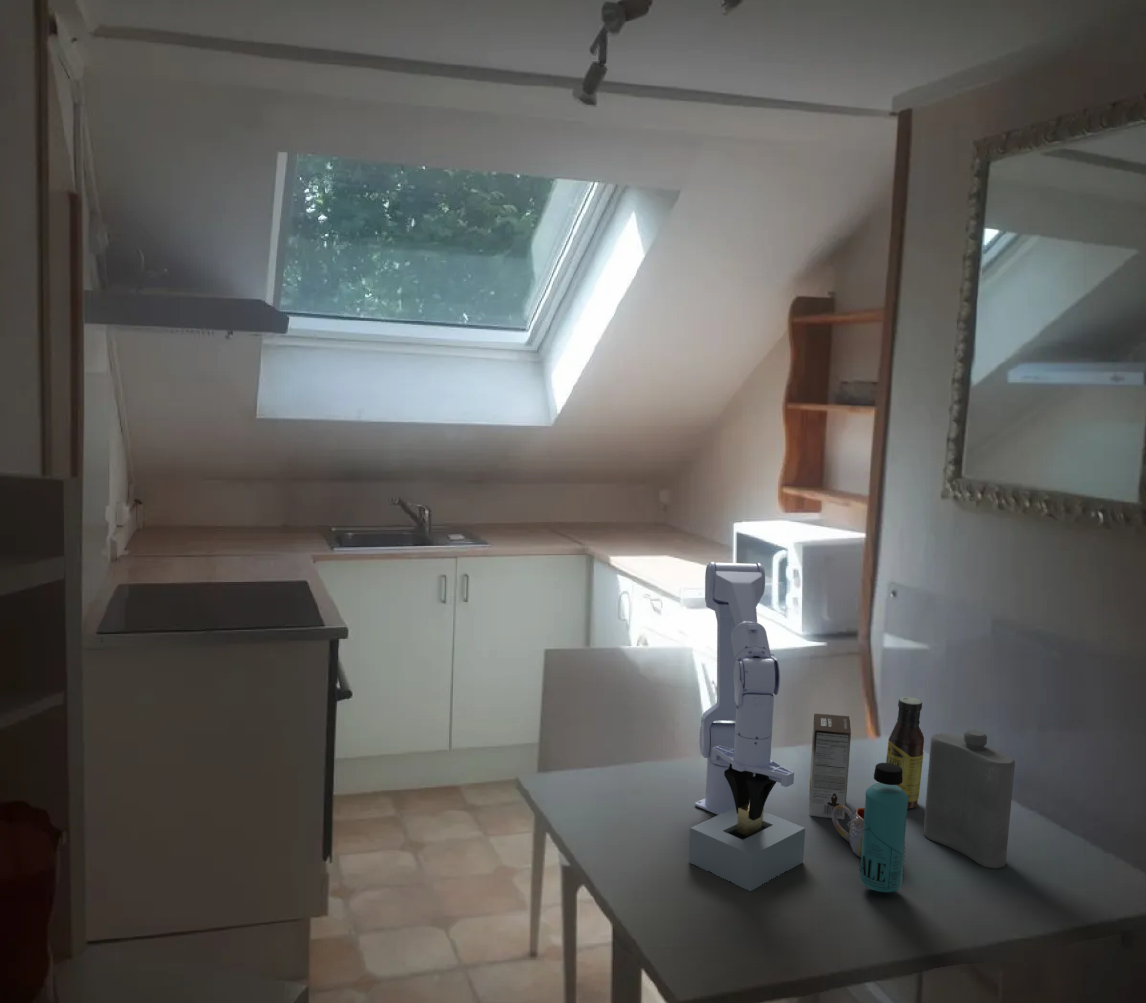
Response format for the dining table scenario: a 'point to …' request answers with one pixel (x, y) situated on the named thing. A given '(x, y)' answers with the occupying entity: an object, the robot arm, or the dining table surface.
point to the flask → (969, 797)
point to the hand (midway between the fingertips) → (748, 815)
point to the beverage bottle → (884, 830)
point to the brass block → (748, 821)
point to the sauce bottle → (908, 747)
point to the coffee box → (829, 764)
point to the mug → (851, 827)
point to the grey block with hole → (746, 849)
